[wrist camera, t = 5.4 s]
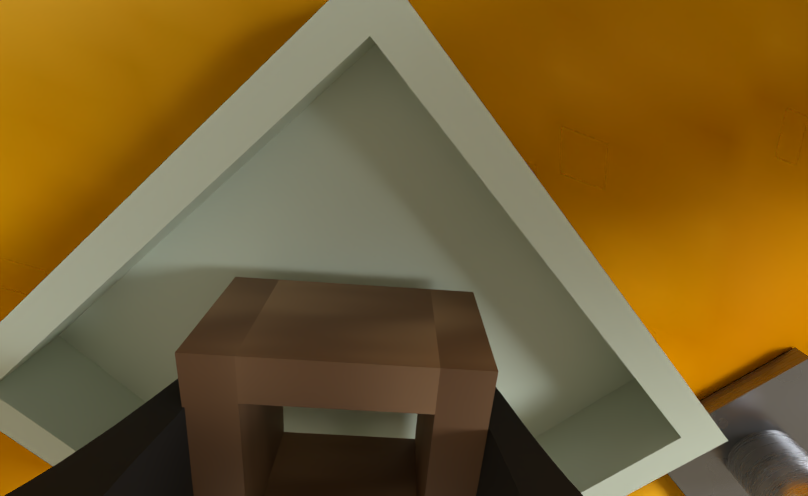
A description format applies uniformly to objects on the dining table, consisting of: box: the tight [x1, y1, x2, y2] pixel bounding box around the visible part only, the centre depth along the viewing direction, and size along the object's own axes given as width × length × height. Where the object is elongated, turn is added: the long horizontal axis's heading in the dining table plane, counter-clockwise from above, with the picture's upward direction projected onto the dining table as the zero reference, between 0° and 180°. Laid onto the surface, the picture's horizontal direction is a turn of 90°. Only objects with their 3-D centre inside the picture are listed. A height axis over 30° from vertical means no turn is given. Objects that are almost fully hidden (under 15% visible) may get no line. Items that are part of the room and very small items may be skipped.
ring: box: [175, 277, 498, 496], centre depth 10 cm, size 6×6×3 cm
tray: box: [0, 0, 728, 496], centre depth 11 cm, size 13×13×3 cm
